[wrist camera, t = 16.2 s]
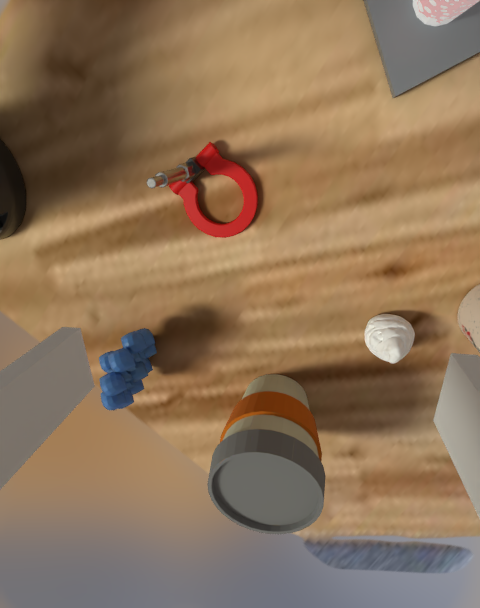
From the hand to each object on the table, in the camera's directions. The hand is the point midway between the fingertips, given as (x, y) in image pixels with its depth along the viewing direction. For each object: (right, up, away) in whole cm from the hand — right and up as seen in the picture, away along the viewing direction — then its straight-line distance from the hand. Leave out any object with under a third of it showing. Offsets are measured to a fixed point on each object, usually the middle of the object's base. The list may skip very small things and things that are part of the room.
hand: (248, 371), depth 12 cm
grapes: (-14, -3, +36) cm, 39 cm away
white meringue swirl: (+18, -1, +29) cm, 34 cm away
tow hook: (-3, +15, +26) cm, 30 cm away
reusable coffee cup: (+5, -11, +36) cm, 38 cm away
